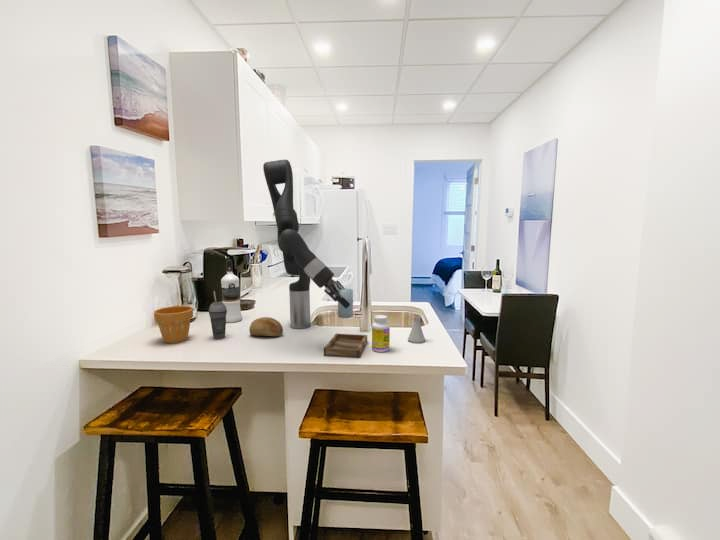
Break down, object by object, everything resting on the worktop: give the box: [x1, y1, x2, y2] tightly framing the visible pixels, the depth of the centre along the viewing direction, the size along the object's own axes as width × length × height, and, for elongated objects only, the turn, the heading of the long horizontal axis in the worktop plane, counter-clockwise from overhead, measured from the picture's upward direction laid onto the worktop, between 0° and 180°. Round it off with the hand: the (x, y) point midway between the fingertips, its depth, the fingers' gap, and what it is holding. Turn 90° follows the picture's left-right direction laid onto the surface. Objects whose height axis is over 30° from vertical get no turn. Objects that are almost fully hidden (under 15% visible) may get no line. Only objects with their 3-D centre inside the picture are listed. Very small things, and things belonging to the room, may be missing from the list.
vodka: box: [220, 260, 243, 324], centre depth 178 cm, size 9×9×30 cm
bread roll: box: [248, 316, 284, 337], centre depth 155 cm, size 10×15×8 cm, turn 78°
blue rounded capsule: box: [337, 288, 354, 319], centre depth 136 cm, size 6×6×10 cm
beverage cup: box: [208, 290, 227, 340], centre depth 152 cm, size 7×7×20 cm
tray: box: [323, 333, 368, 359], centre depth 139 cm, size 18×13×3 cm
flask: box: [407, 315, 426, 344], centre depth 147 cm, size 7×7×10 cm
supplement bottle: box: [371, 314, 391, 353], centre depth 137 cm, size 7×7×13 cm
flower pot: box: [153, 305, 194, 344], centre depth 150 cm, size 14×14×13 cm
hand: (349, 304), depth 135 cm, fingers closed on blue rounded capsule, 5 cm apart
